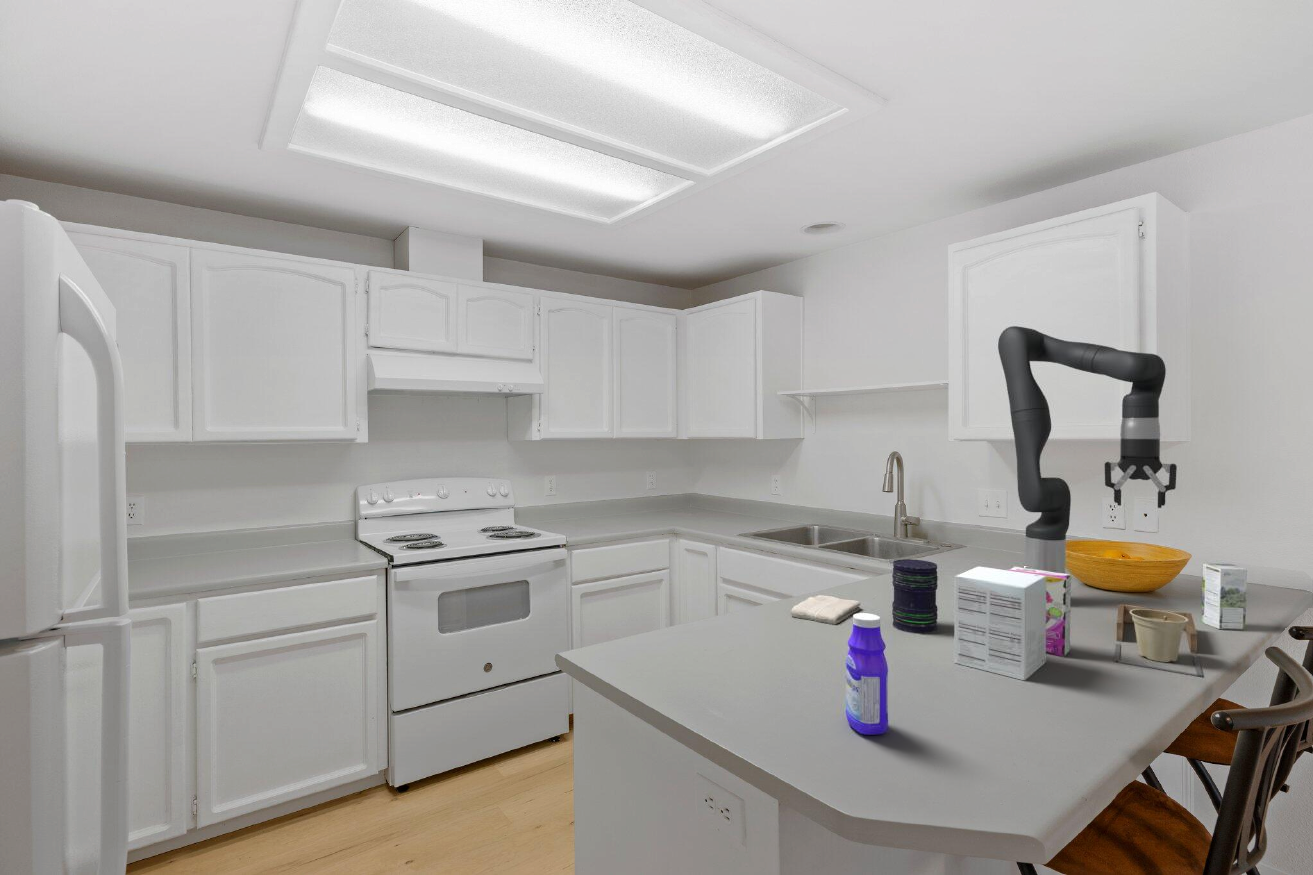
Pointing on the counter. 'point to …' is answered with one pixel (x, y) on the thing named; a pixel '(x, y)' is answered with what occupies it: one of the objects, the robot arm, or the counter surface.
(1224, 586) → the syrup box
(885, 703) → the bottle
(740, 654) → the counter surface
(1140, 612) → the flower pot
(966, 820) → the counter surface
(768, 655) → the counter surface
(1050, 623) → the candy bar box
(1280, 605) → the counter surface
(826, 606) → the washcloth
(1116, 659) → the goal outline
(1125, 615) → the brown wooden frame
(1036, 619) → the supplement box
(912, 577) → the storage jar
